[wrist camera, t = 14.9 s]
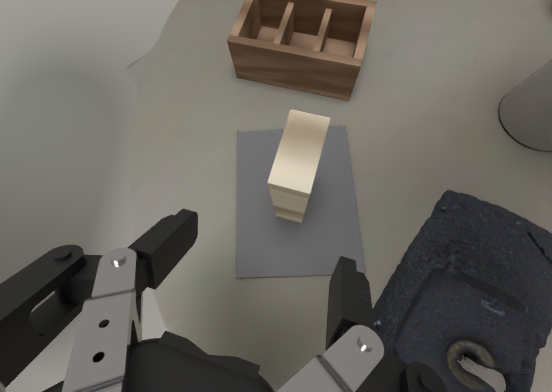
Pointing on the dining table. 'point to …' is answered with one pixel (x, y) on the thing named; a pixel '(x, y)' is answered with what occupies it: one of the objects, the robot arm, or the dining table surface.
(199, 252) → the dining table surface
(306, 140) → the ash block
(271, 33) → the walnut box
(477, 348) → the dark slate chunk
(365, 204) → the dining table surface
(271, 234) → the rubber mat
